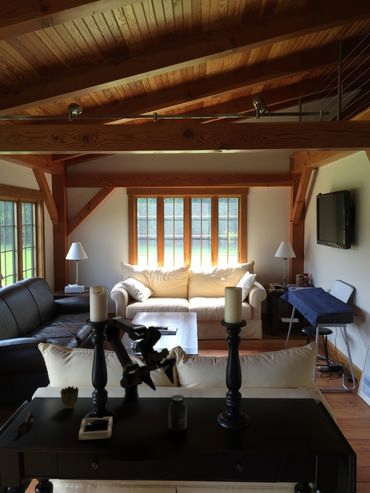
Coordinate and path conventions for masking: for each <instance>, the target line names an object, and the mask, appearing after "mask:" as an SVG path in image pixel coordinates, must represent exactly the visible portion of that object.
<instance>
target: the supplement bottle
mask: <svg viewBox="0 0 370 493" xmlns="http://www.w3.org/2000/svg"><path fill="white" fill-rule="evenodd" d="M170 402H171V403H169V406H168V428H169V429H170V431H172V432H176V433H178V432H183V431H185V429H186V428H187V425H188V424H187V420H188V418H187V415H188V414H187V412H188V410H187V404H186V403H185V396H184V395H181V394H174V395H172V396H171V401H170Z"/></svg>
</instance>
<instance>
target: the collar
mask: <svg viewBox="0 0 370 493" xmlns="http://www.w3.org/2000/svg"><path fill="white" fill-rule="evenodd" d="M102 417H103V418H98V417H87V418H85V417H83V418H82V419H81V420H82V421H81V423H80V427H79V428H80V429H79V433H78V441H85V440H98V439H109V438H110V439H111V437H112V428H113V416H102ZM95 420H106V421H109V422H108V424H107V430H95V431H94V430H93V431H86V426H88V425H87V424H88V423H90V422H93V421H95Z"/></svg>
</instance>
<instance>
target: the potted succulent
mask: <svg viewBox="0 0 370 493" xmlns="http://www.w3.org/2000/svg"><path fill="white" fill-rule="evenodd" d="M79 391H80V390H79V387H78V386H76V387H74V386H73V385H72V386H67V387H64V388H61V390H60V398H61V402H62V404H63V405H64V406H65V410H72V409H74V408H75V405H76V403H77V401H78V398H79Z"/></svg>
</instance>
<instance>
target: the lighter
mask: <svg viewBox="0 0 370 493" xmlns="http://www.w3.org/2000/svg"><path fill="white" fill-rule="evenodd" d="M35 419H36V417H35V416H34V414H33V412H32V411H28V412H26V413H25V415H24V419H23V421H22V423H21V424H20V425H19V426H18V428H17V429H16V430H17V435H18V436H23V435H24V434H25V433H26V432H27V431H28V429H31V428H32V425H33V423H34V422H35Z"/></svg>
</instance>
